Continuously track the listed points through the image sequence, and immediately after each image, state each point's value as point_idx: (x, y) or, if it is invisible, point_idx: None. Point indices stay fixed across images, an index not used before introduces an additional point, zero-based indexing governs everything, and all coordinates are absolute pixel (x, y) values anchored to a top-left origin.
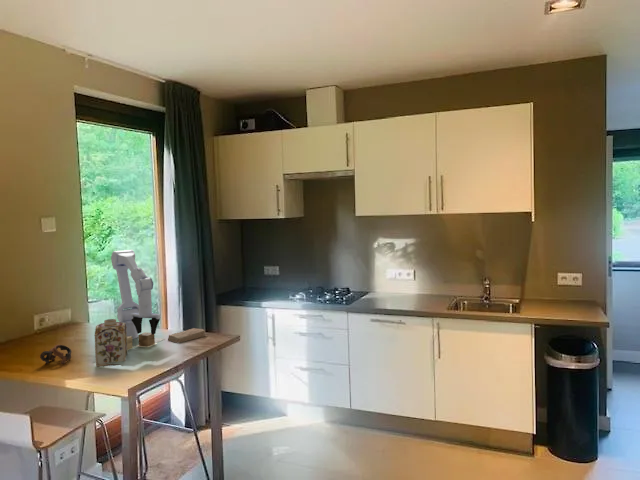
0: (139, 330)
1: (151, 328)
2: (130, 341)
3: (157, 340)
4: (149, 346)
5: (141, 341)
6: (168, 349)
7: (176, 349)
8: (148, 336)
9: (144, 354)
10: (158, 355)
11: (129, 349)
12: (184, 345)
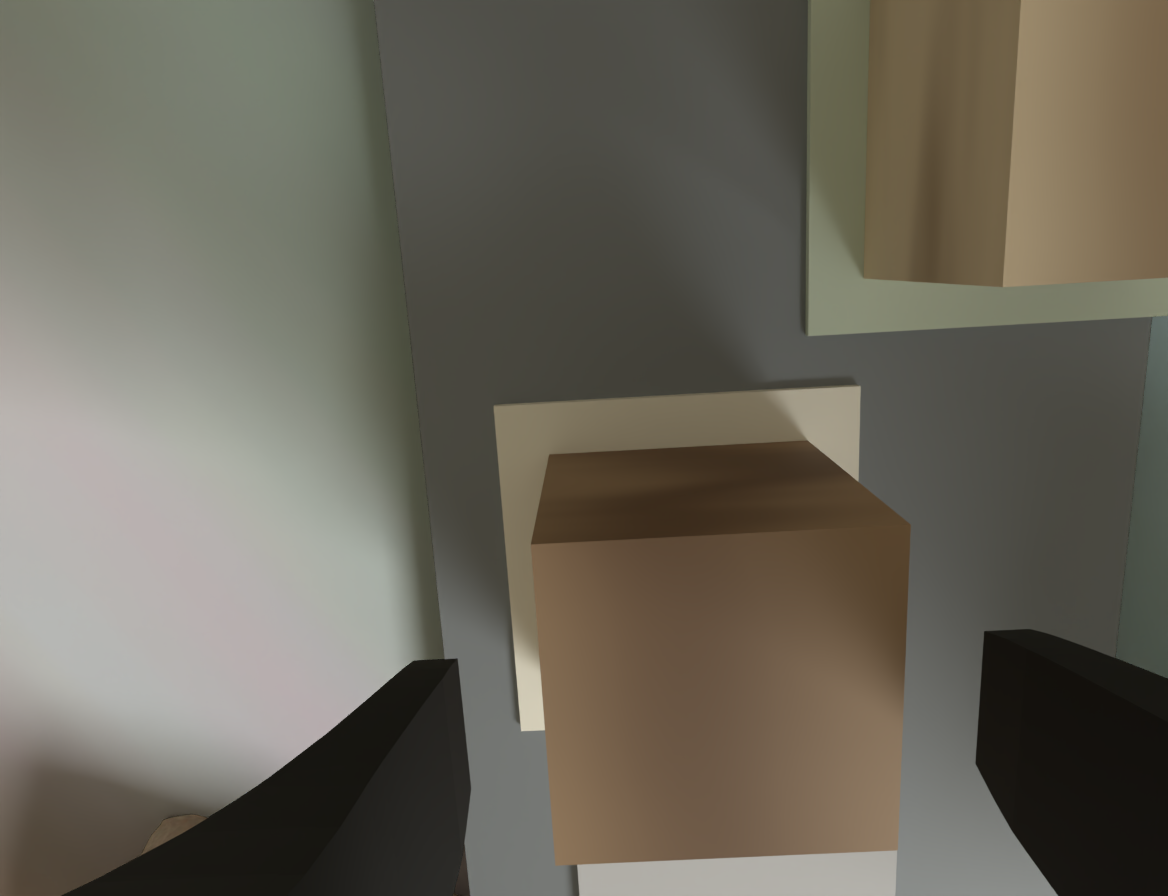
0: (1036, 739)
1: (348, 757)
2: (938, 186)
3: (659, 877)
4: (516, 464)
5: (746, 471)
6: (154, 570)
7: (3, 617)
8: (537, 572)
9: (365, 94)
10: (10, 131)
11: (823, 92)
12: (70, 870)
